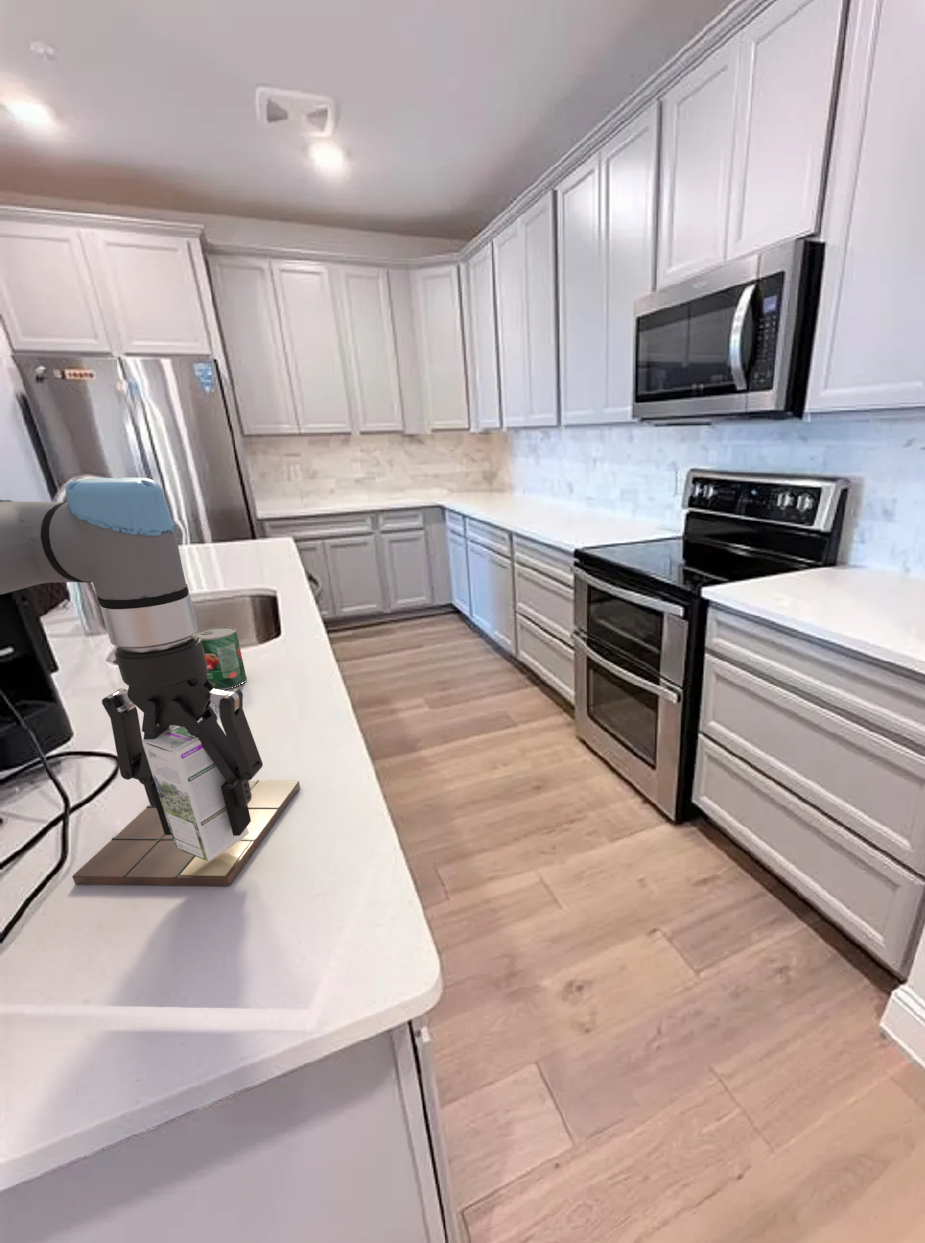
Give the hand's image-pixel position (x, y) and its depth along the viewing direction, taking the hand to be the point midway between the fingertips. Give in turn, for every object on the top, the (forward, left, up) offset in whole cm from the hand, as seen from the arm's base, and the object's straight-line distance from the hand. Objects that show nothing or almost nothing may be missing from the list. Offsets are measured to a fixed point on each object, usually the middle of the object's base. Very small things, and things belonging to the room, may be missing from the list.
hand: (208, 827), depth 68 cm
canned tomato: (-28, +55, -6) cm, 62 cm away
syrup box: (0, 0, -2) cm, 2 cm away
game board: (-6, +7, -6) cm, 11 cm away
